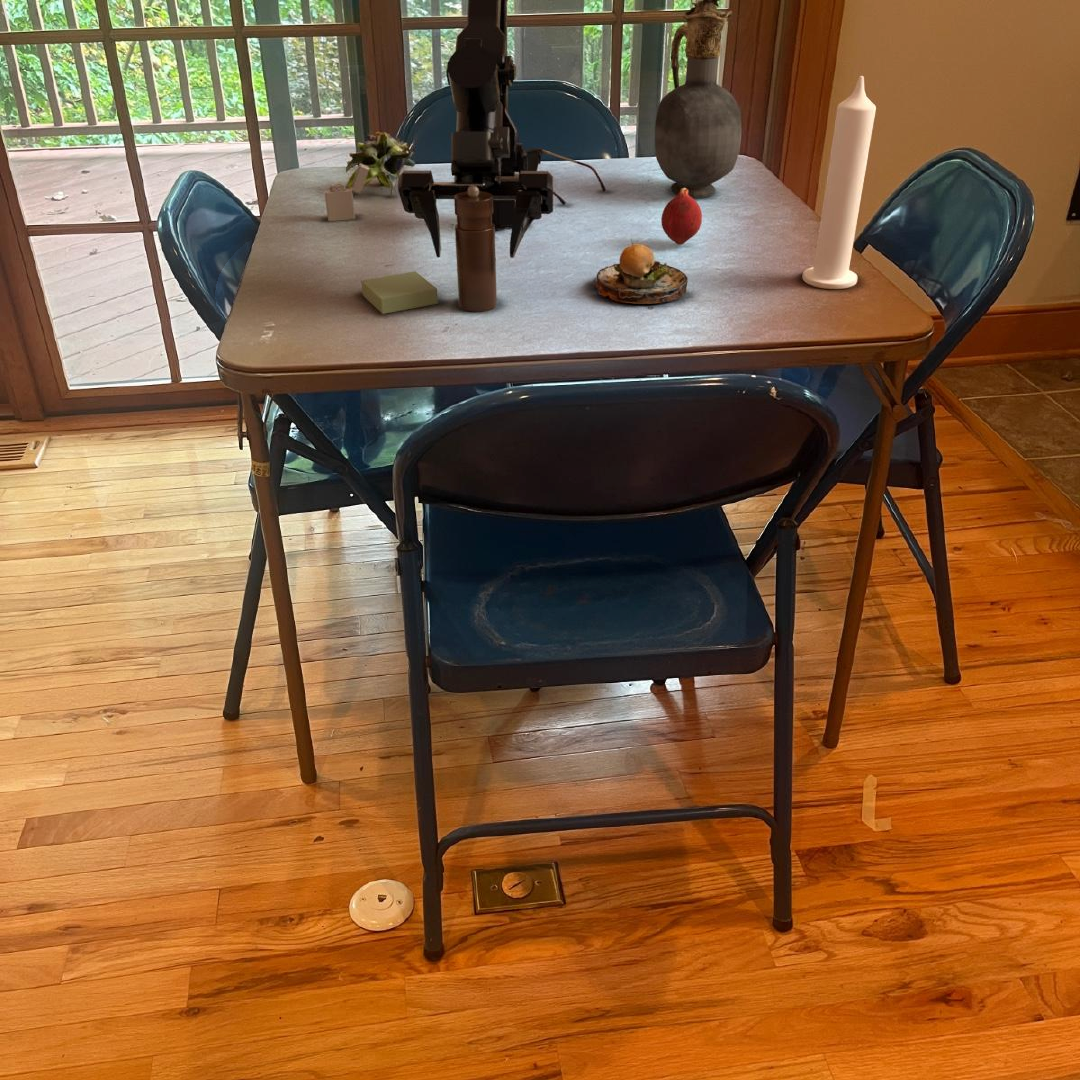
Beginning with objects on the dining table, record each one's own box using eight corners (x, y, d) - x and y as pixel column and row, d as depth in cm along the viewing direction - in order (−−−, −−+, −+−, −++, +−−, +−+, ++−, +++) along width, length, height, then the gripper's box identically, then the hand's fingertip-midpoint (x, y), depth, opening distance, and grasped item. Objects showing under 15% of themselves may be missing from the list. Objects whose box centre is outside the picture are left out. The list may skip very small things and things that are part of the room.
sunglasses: (539, 174, 179) (541, 145, 176) (610, 196, 171) (613, 166, 168) (487, 190, 171) (487, 160, 168) (558, 213, 163) (560, 182, 160)
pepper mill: (452, 302, 127) (446, 183, 119) (487, 295, 129) (482, 178, 121) (468, 314, 124) (462, 193, 116) (503, 307, 126) (500, 187, 117)
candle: (826, 292, 129) (859, 83, 115) (791, 276, 135) (818, 74, 121) (868, 283, 132) (905, 77, 118) (831, 268, 137) (863, 69, 123)
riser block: (362, 295, 130) (360, 280, 128) (416, 285, 132) (415, 270, 131) (382, 314, 124) (380, 298, 123) (438, 303, 127) (437, 288, 126)
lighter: (328, 221, 157) (322, 168, 152) (327, 218, 158) (321, 165, 154) (374, 217, 158) (369, 164, 154) (372, 214, 160) (367, 162, 155)
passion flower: (385, 216, 177) (414, 153, 175) (405, 221, 168) (436, 153, 166) (328, 185, 171) (357, 118, 169) (345, 187, 162) (376, 117, 160)
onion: (698, 252, 143) (703, 195, 139) (658, 249, 144) (661, 193, 140) (701, 239, 148) (705, 184, 143) (662, 237, 149) (665, 182, 144)
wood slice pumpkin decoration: (704, 294, 129) (710, 236, 125) (631, 312, 124) (633, 253, 120) (648, 268, 138) (651, 213, 133) (577, 284, 132) (577, 228, 128)
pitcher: (681, 207, 162) (696, -3, 145) (637, 178, 177) (646, -15, 160) (742, 201, 164) (764, -6, 148) (694, 173, 179) (709, -17, 163)
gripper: (393, 99, 117) (386, 222, 114) (552, 99, 116) (550, 223, 113) (408, 154, 128) (402, 267, 125) (554, 154, 127) (551, 268, 124)
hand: (474, 256), depth 122 cm, fingers open, 9 cm apart
